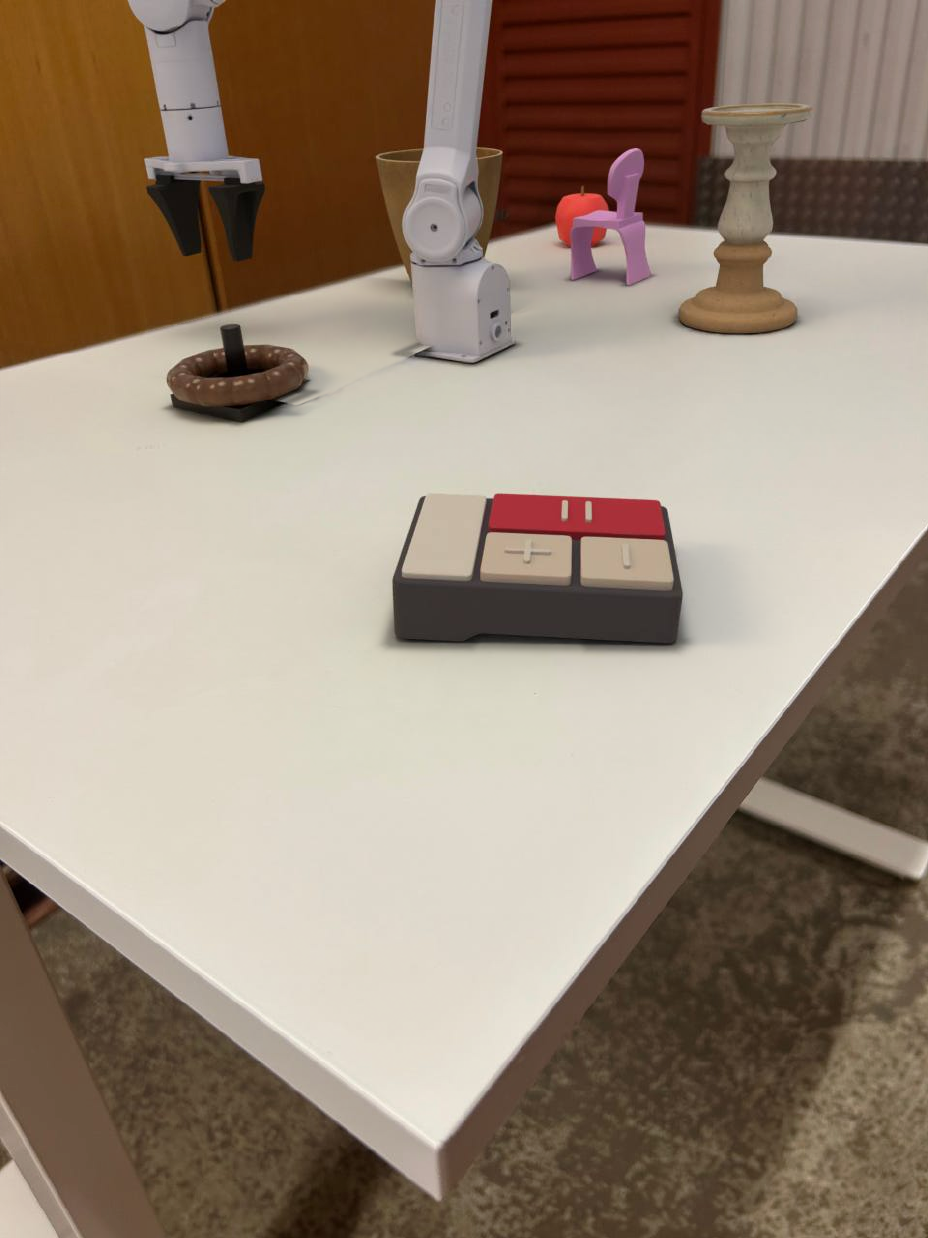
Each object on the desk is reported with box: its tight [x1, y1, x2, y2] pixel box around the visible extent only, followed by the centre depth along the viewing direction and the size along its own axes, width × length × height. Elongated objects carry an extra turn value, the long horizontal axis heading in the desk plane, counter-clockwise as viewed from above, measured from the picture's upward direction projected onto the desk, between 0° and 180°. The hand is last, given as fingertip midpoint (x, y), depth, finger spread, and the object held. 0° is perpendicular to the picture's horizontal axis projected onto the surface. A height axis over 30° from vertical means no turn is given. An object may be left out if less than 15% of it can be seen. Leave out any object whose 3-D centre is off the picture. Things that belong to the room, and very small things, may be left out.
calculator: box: [391, 492, 684, 644], centre depth 54 cm, size 11×4×15 cm
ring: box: [165, 344, 310, 406], centre depth 87 cm, size 12×12×2 cm
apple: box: [554, 185, 610, 248], centre depth 141 cm, size 8×8×8 cm
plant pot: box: [375, 146, 504, 284], centre depth 116 cm, size 15×15×16 cm
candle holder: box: [678, 102, 814, 334], centre depth 98 cm, size 12×12×20 cm
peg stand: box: [170, 323, 311, 423], centre depth 87 cm, size 9×9×7 cm
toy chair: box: [570, 147, 652, 286], centre depth 119 cm, size 8×9×15 cm
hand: (217, 256), depth 99 cm, fingers open, 7 cm apart
